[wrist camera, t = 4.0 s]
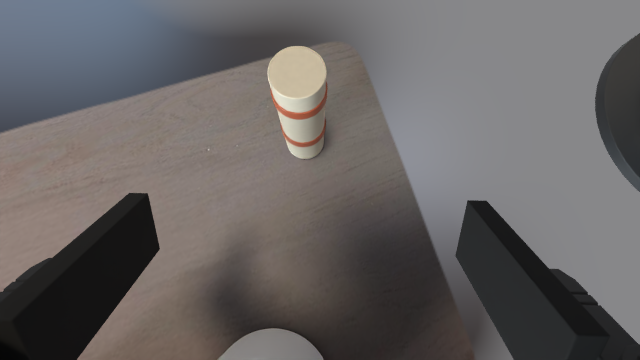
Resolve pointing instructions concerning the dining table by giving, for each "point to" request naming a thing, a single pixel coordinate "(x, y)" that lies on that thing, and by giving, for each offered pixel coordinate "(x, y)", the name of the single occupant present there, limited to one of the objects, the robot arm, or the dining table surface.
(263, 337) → the cup
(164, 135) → the dining table surface
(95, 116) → the dining table surface
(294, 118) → the cream banded cylinder
